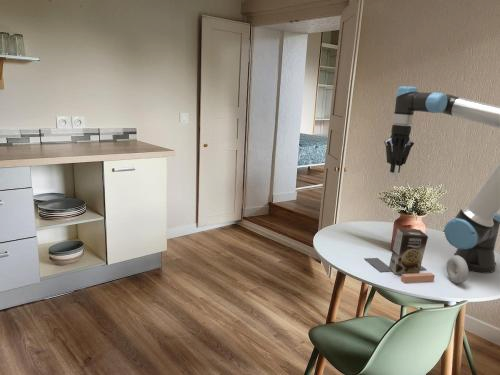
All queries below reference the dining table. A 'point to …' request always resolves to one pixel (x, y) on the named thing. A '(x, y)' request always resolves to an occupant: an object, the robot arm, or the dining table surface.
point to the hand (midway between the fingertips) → (393, 180)
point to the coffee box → (408, 251)
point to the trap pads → (382, 265)
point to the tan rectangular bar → (417, 277)
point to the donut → (457, 269)
